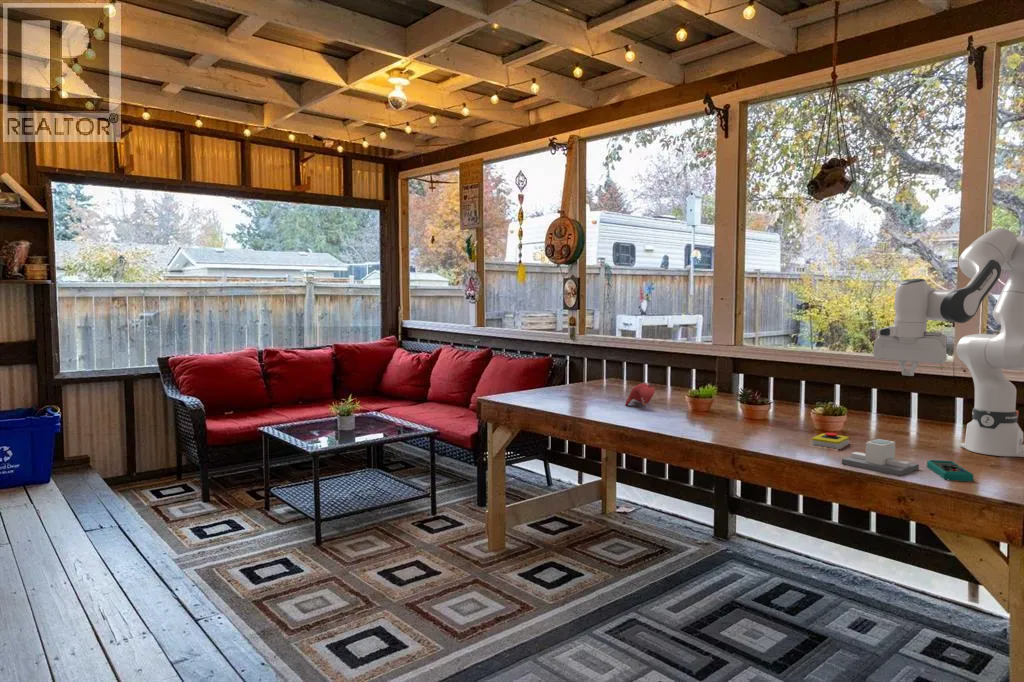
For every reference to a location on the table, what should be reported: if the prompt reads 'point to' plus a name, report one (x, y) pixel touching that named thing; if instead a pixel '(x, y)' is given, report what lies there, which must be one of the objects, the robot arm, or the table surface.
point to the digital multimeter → (949, 470)
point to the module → (879, 451)
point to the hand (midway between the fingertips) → (907, 375)
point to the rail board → (889, 467)
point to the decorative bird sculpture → (641, 393)
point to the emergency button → (830, 440)
